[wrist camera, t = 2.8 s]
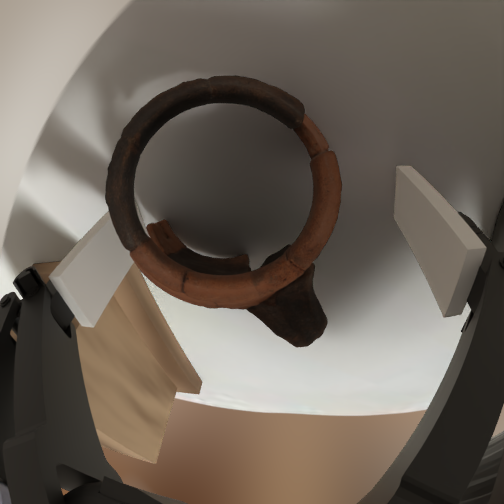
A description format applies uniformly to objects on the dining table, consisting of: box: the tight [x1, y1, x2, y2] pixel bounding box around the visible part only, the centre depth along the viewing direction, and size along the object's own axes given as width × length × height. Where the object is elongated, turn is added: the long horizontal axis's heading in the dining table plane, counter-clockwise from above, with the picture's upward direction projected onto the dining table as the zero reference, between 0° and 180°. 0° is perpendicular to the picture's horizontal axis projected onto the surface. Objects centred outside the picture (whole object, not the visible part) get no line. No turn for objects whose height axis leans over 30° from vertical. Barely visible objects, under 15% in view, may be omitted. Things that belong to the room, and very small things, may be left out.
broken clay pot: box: [105, 76, 342, 347], centre depth 12 cm, size 12×10×8 cm
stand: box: [10, 261, 202, 464], centre depth 19 cm, size 12×16×10 cm
